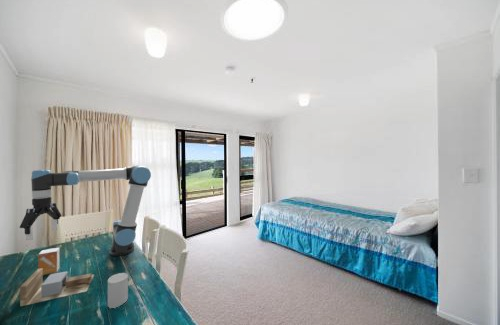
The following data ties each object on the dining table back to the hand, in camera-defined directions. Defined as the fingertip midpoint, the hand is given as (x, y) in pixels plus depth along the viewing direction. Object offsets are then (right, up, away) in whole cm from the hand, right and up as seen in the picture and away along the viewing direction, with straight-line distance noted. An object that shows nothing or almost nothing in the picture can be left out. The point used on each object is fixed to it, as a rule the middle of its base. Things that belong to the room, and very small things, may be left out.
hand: (42, 234), depth 112 cm
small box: (-4, -25, +7) cm, 27 cm away
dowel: (+26, -25, -6) cm, 36 cm away
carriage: (+17, -24, -10) cm, 31 cm away
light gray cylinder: (+53, -27, -16) cm, 62 cm away
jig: (+19, -26, -9) cm, 33 cm away
